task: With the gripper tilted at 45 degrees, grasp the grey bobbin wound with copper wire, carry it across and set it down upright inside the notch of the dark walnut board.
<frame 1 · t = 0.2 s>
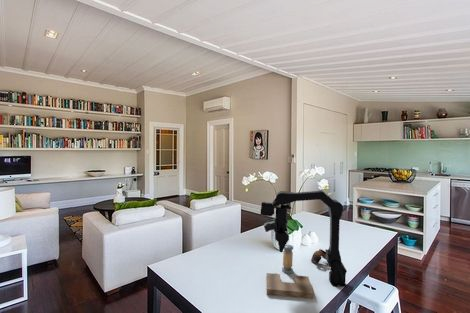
hand: (280, 248, 123), 15 cm above the table, tool pointing down, fingers open, 9 cm apart
notched board: (288, 287, 114), on the table
pottery mug: (319, 263, 140), on the table
bobbin: (287, 270, 130), on the table
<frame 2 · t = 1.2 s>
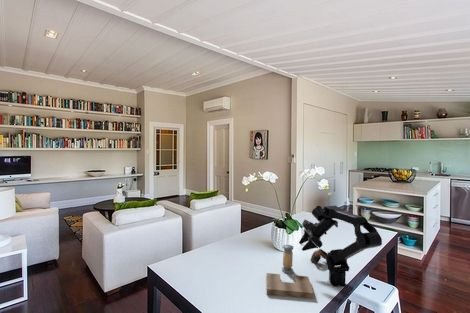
hand: (300, 246, 128), 13 cm above the table, tool tilted 45°, fingers open, 9 cm apart
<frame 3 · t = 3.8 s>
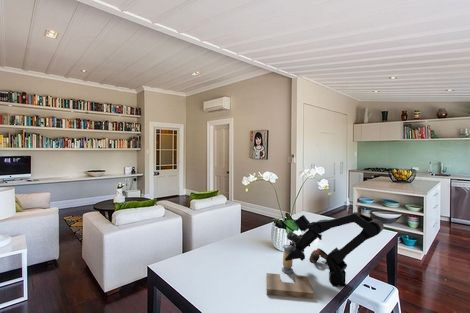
hand: (285, 257, 130), 7 cm above the table, tool tilted 45°, fingers closed on bobbin, 5 cm apart
bobbin: (287, 270, 130), on the table, touching gripper
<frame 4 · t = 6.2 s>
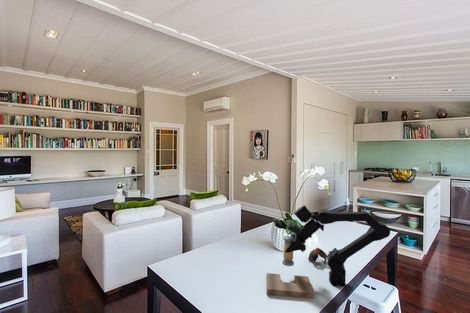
hand: (285, 249, 124), 13 cm above the table, tool tilted 45°, fingers closed on bobbin, 5 cm apart
bobbin: (288, 263, 124), point 7 cm above the table, touching gripper
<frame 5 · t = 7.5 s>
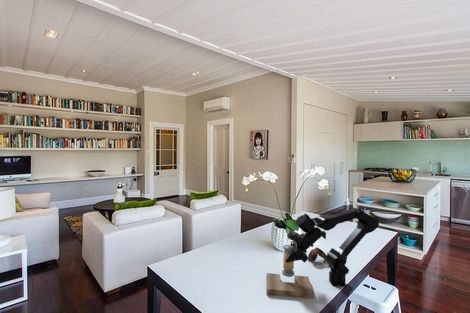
hand: (285, 259, 117), 12 cm above the table, tool tilted 45°, fingers closed on bobbin, 5 cm apart
bobbin: (288, 273, 117), point 5 cm above the table, touching gripper
when the fingers open (8 cm above the table, at t = 8.6 s): bobbin drops 1 cm, on the table.
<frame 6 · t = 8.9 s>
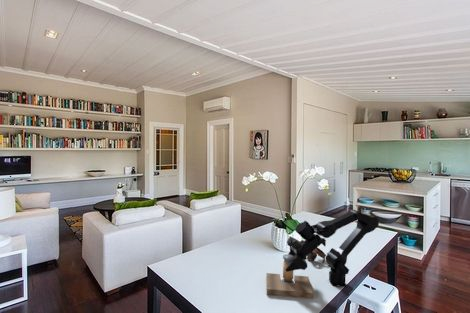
hand: (285, 266, 117), 8 cm above the table, tool tilted 45°, fingers open, 8 cm apart
bobbin: (287, 283, 118), on the table
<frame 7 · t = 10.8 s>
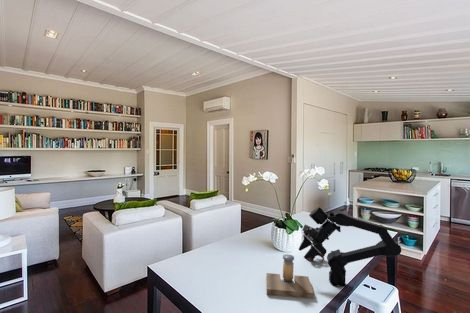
hand: (301, 253, 120), 13 cm above the table, tool tilted 45°, fingers open, 9 cm apart
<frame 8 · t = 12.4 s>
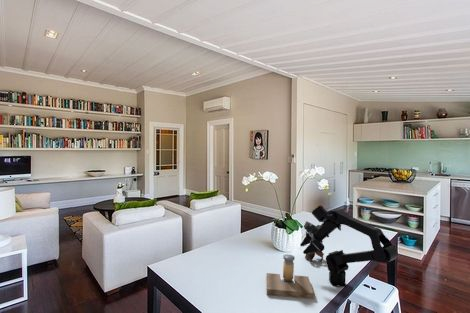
hand: (302, 249, 125), 14 cm above the table, tool tilted 45°, fingers open, 9 cm apart
at the end: bobbin 0.1 cm from the target spot on the notched board, point 0.0 cm above the notched board's base; bobbin tilted 1°; the gripper is holding nothing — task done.
